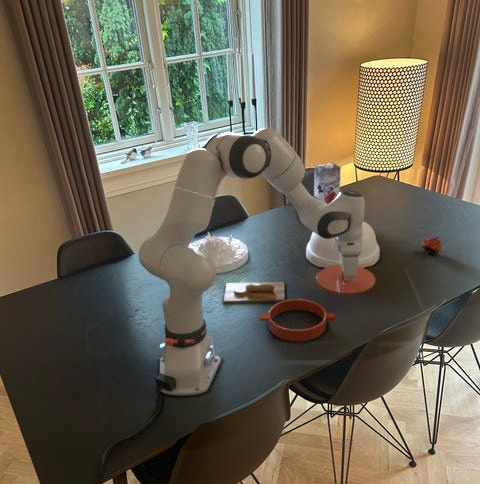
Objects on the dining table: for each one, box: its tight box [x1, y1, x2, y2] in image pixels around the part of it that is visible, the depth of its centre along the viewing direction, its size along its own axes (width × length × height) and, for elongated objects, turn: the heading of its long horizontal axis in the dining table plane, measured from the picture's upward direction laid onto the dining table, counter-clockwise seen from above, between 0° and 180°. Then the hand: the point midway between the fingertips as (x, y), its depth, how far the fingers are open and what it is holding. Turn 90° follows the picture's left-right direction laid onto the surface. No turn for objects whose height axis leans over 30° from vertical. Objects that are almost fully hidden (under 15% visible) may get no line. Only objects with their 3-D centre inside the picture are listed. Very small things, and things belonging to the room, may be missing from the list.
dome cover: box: [305, 221, 381, 269], centre depth 203 cm, size 32×30×14 cm
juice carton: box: [313, 162, 342, 204], centre depth 230 cm, size 9×10×27 cm
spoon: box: [234, 284, 275, 295], centre depth 183 cm, size 15×5×3 cm, turn 86°
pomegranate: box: [421, 236, 442, 257], centre depth 200 cm, size 7×7×10 cm
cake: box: [188, 231, 249, 274], centre depth 208 cm, size 28×28×10 cm
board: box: [223, 281, 286, 305], centre depth 184 cm, size 13×22×1 cm, turn 86°
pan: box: [259, 298, 336, 342], centre depth 164 cm, size 19×24×4 cm
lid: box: [315, 265, 376, 295], centre depth 170 cm, size 20×20×4 cm
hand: (345, 277), depth 171 cm, fingers closed on lid, 2 cm apart
